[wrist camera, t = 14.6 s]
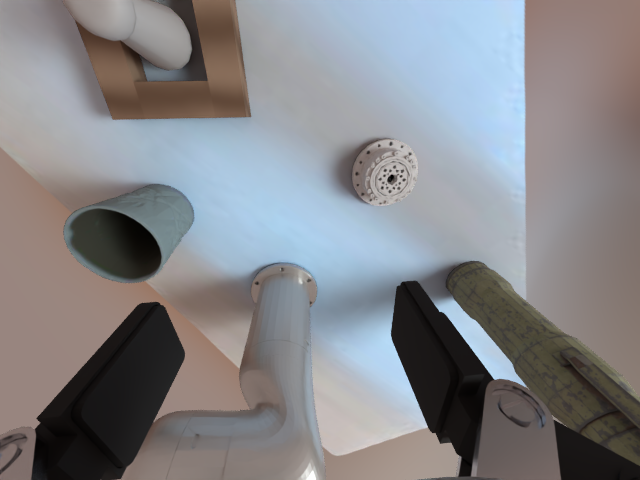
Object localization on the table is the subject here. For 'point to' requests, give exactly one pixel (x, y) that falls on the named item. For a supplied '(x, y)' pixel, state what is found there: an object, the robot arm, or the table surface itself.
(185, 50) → the salt shaker
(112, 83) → the holder board
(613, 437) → the green textured column
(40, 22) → the table surface
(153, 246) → the green embossed cup
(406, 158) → the mechanical component
